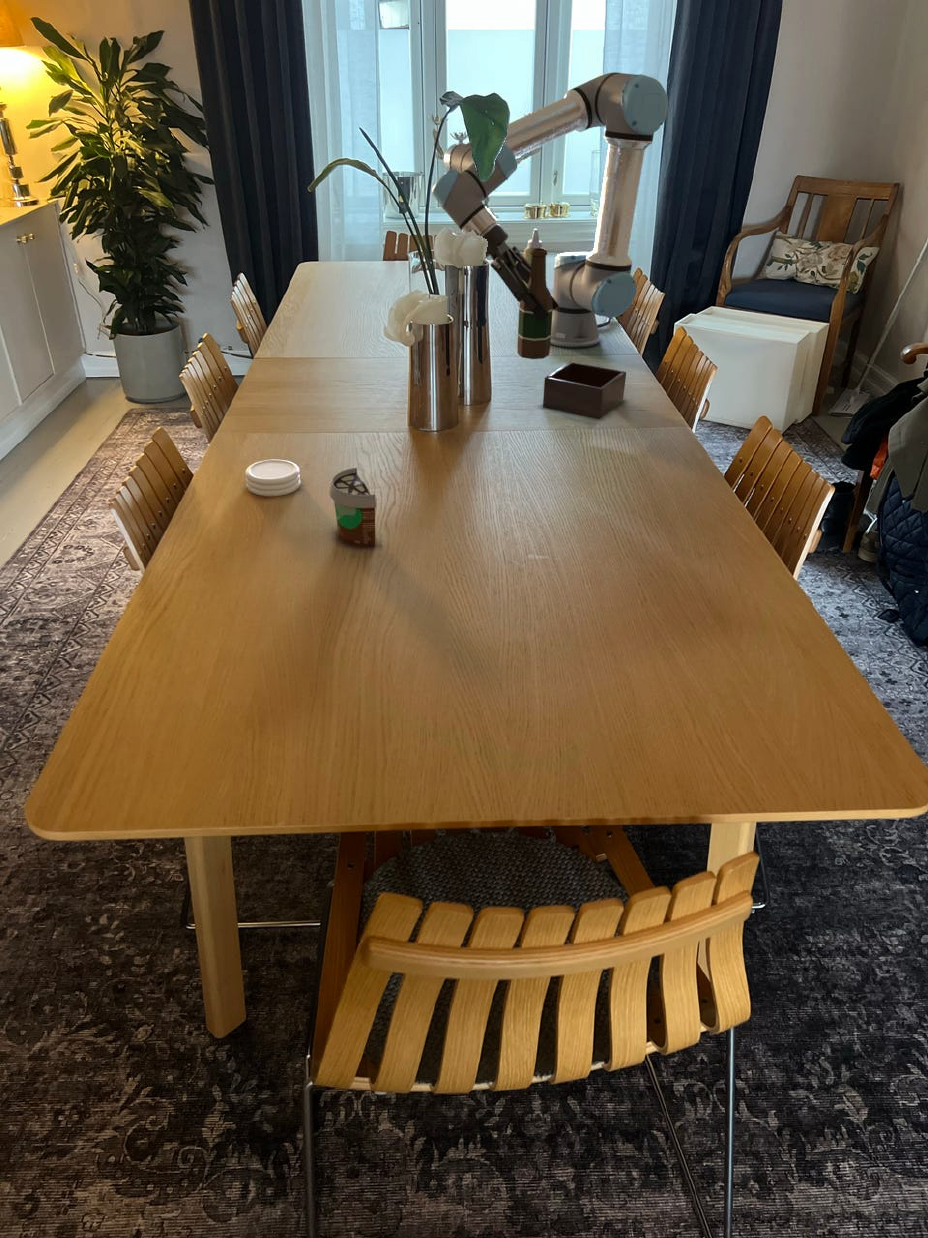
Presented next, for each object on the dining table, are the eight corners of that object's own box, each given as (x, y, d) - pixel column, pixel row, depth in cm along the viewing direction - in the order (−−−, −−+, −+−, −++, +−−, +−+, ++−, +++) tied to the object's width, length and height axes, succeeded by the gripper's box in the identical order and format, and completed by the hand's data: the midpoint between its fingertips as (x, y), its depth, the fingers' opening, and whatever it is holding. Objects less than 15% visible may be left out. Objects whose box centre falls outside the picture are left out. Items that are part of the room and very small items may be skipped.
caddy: (568, 390, 229) (570, 361, 225) (623, 401, 224) (626, 371, 220) (542, 407, 219) (544, 377, 215) (599, 419, 213) (602, 389, 209)
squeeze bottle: (549, 286, 314) (553, 228, 304) (537, 291, 308) (541, 232, 298) (527, 283, 318) (530, 225, 308) (515, 288, 312) (518, 229, 302)
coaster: (309, 479, 183) (307, 462, 181) (287, 500, 175) (285, 483, 173) (261, 472, 185) (259, 455, 183) (237, 493, 177) (235, 476, 175)
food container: (324, 523, 168) (320, 470, 162) (358, 518, 170) (355, 466, 164) (341, 555, 158) (338, 500, 153) (377, 550, 160) (376, 495, 155)
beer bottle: (549, 350, 232) (556, 246, 219) (549, 360, 225) (556, 253, 212) (517, 348, 232) (522, 244, 219) (516, 358, 226) (521, 252, 213)
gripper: (488, 236, 228) (549, 312, 232) (459, 254, 212) (526, 335, 216) (510, 214, 224) (572, 292, 228) (482, 230, 208) (550, 314, 212)
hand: (549, 313), depth 222 cm, fingers closed on beer bottle, 7 cm apart
